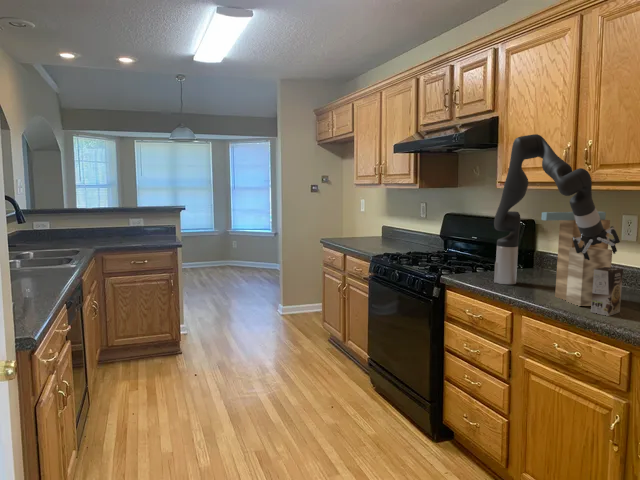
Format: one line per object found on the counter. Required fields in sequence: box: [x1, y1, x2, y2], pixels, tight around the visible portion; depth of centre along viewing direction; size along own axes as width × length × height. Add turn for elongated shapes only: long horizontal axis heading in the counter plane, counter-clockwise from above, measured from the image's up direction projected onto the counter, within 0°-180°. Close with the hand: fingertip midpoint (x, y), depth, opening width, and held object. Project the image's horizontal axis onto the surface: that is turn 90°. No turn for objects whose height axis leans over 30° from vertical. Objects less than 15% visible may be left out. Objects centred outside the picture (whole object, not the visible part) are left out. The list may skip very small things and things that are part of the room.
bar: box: [541, 211, 607, 221], centre depth 193 cm, size 26×3×3 cm, turn 100°
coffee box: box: [590, 267, 624, 317], centre depth 176 cm, size 9×6×16 cm
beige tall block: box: [565, 247, 613, 307], centre depth 188 cm, size 12×8×22 cm, turn 100°
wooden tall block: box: [554, 219, 611, 301], centre depth 196 cm, size 16×8×32 cm, turn 100°
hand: (601, 255), depth 179 cm, fingers open, 8 cm apart
